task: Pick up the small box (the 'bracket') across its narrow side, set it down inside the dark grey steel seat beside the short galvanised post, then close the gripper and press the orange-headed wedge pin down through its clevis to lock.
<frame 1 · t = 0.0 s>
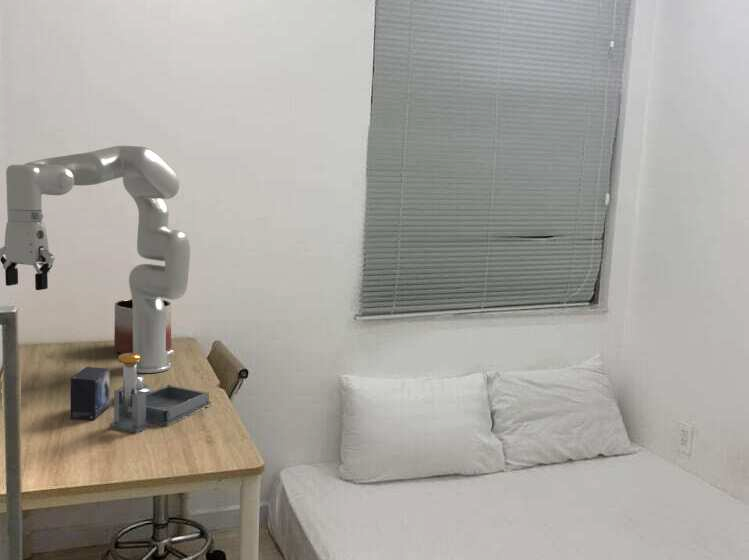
hand: (26, 287, 187), 31 cm above the table, fingers open, 9 cm apart
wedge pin: (129, 380, 182), point 12 cm above the table, slide at 0.0 cm
small box: (90, 413, 192), on the table
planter: (143, 350, 253), on the table
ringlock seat: (167, 410, 197), on the table
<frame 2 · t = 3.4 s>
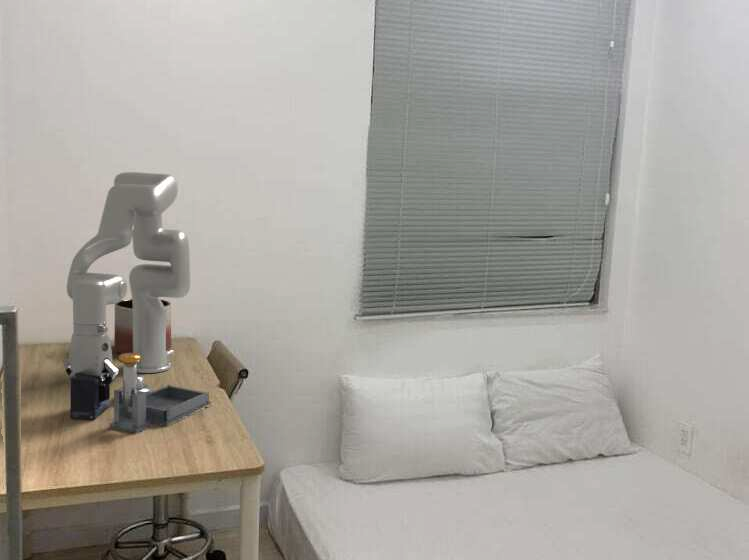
hand: (90, 397, 192), 4 cm above the table, fingers closed on small box, 8 cm apart
small box: (90, 413, 192), on the table, touching gripper
everything else where it was.
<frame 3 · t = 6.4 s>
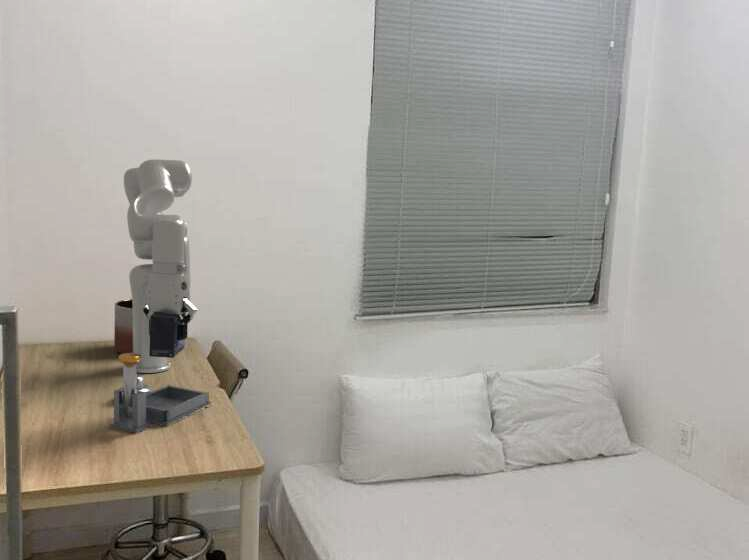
hand: (168, 336, 194), 19 cm above the table, fingers closed on small box, 8 cm apart
small box: (167, 353, 194), point 15 cm above the table, touching gripper
everything else where it was.
when the fingers open (6 cm above the table, at t = 9.4 s): small box stays where it is, resting on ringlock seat.
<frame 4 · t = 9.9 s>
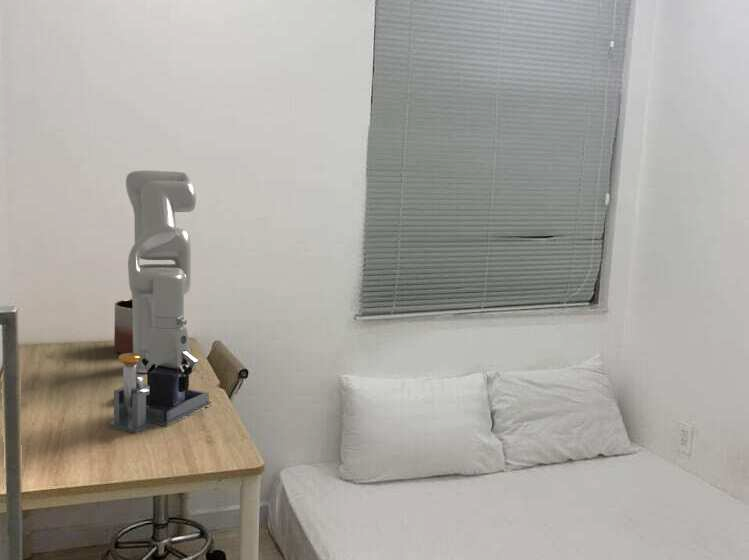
hand: (167, 387, 196), 6 cm above the table, fingers open, 9 cm apart
small box: (167, 407, 197), point 1 cm above the table, touching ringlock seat
everything else where it was.
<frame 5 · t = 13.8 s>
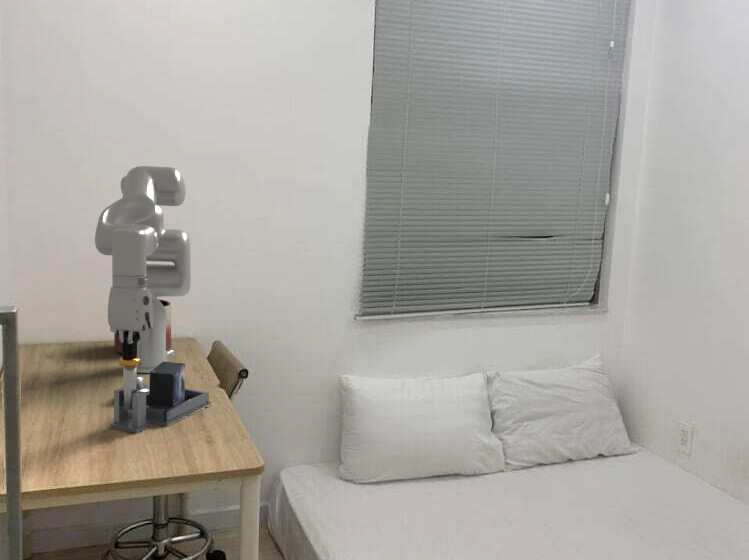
hand: (129, 358, 181), 17 cm above the table, fingers closed
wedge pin: (130, 383, 182), point 11 cm above the table, slide at 0.7 cm, touching gripper
everything else where it was.
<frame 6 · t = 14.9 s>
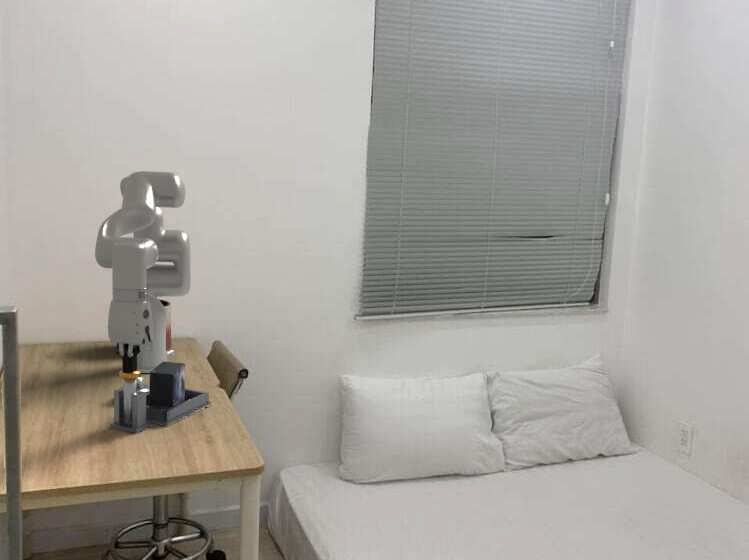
hand: (129, 371, 182), 14 cm above the table, fingers closed
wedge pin: (130, 396, 183), point 8 cm above the table, slide at 3.9 cm, touching gripper
everything else where it was.
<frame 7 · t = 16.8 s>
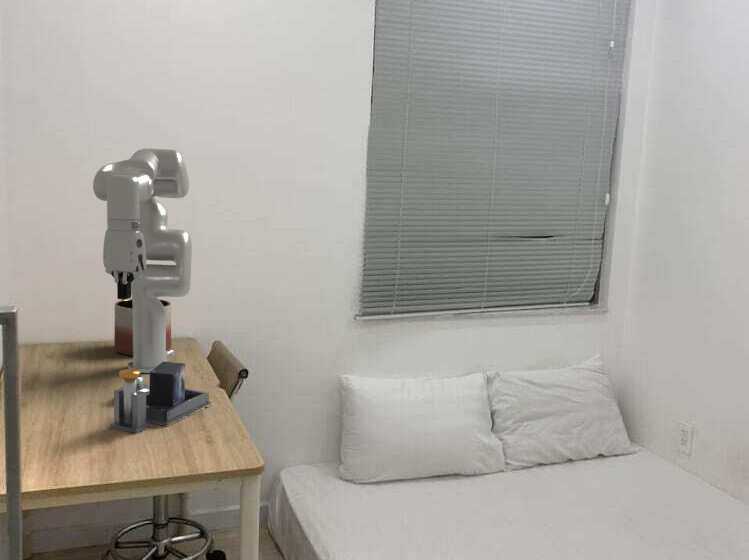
hand: (124, 298, 192), 29 cm above the table, fingers closed
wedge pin: (130, 396, 183), point 8 cm above the table, slide at 3.9 cm
everything else where it was.
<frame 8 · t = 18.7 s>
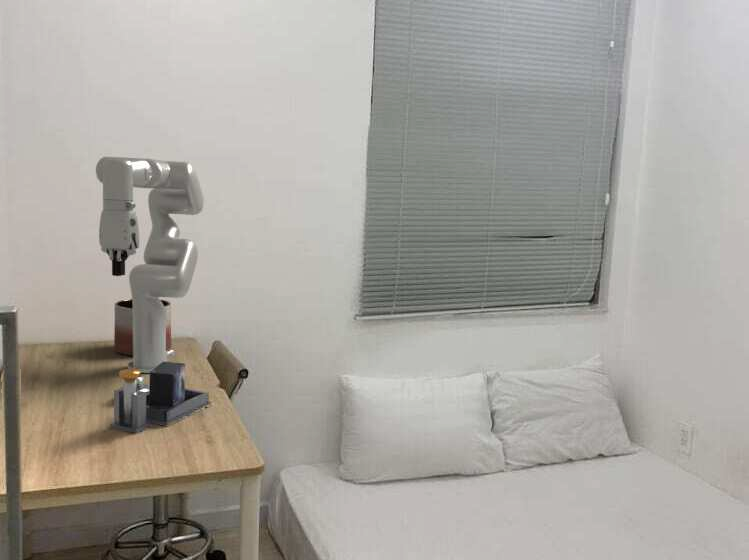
hand: (118, 275, 205), 32 cm above the table, fingers closed
nothing on the table moved.
at the end: small box inside the target area on the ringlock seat (0.1 cm from its centre), point 0.8 cm above the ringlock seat's base; small box tilted 0°; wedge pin slide at 3.9 cm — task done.
